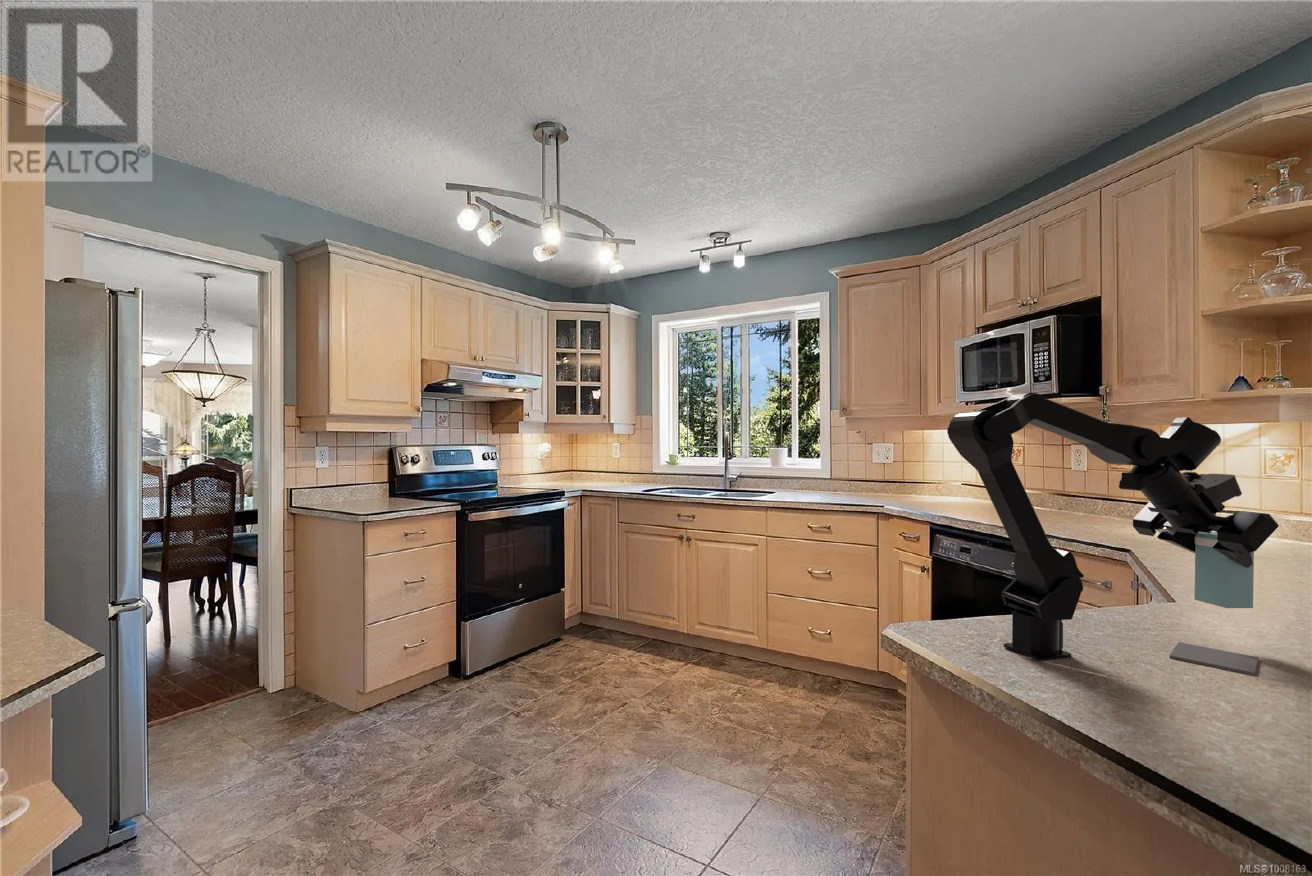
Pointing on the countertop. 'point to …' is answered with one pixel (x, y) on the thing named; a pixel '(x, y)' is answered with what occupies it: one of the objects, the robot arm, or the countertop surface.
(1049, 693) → the countertop surface
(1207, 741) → the countertop surface
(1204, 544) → the carton
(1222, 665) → the mat
